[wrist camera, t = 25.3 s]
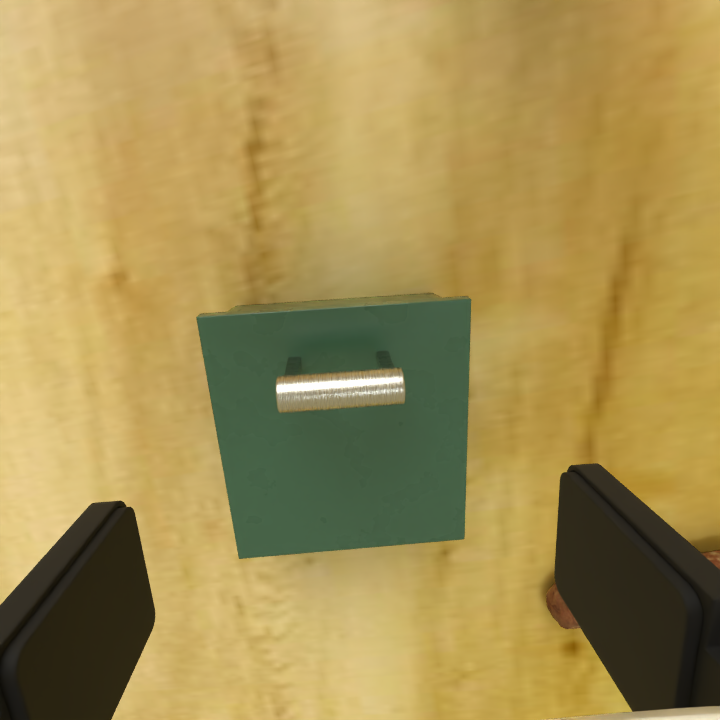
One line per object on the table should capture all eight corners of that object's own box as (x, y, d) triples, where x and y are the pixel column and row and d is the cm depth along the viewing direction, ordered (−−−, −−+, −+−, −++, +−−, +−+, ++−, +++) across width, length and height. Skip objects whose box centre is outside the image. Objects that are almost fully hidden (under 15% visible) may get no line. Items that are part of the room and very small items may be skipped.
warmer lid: (199, 313, 26) (163, 348, 21) (467, 295, 27) (504, 324, 21) (240, 550, 32) (221, 629, 26) (461, 531, 33) (489, 604, 27)
